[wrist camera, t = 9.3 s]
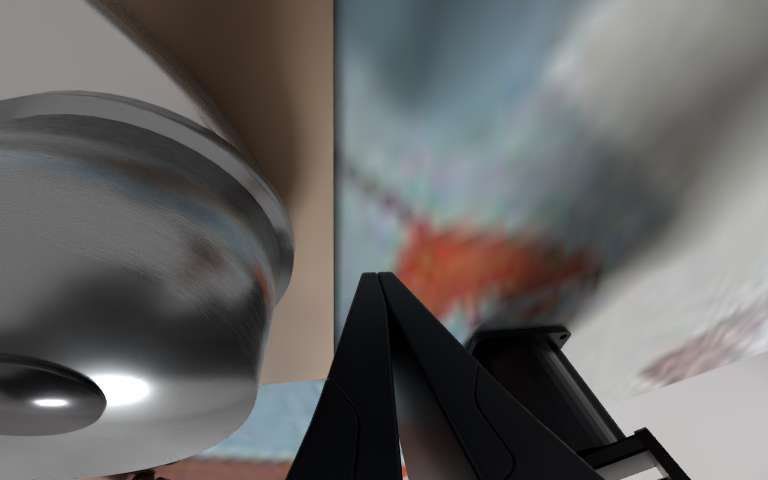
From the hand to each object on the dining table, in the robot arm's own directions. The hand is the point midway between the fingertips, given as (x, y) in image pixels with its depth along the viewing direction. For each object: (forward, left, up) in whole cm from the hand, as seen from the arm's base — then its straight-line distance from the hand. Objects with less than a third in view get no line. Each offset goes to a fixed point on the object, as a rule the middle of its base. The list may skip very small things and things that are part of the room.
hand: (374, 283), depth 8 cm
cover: (+6, -1, -1) cm, 6 cm away
